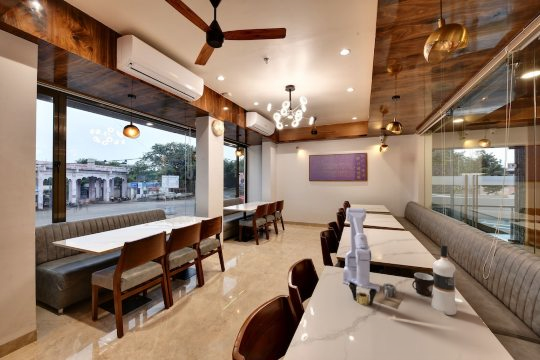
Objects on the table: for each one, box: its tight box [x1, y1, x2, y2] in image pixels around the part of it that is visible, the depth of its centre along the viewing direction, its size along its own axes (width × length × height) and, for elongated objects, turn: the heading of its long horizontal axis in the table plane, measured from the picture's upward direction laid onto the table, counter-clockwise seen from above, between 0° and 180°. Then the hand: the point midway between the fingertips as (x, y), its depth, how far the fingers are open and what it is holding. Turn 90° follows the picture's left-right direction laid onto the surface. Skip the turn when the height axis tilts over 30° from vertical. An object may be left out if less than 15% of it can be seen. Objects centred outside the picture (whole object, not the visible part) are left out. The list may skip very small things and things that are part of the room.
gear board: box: [373, 286, 406, 310], centre depth 115 cm, size 12×18×6 cm, turn 140°
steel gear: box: [382, 283, 397, 297], centre depth 118 cm, size 6×6×4 cm
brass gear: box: [356, 291, 370, 306], centre depth 111 cm, size 6×6×4 cm
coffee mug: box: [411, 272, 433, 298], centre depth 119 cm, size 12×9×10 cm
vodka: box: [430, 244, 458, 316], centre depth 106 cm, size 9×9×30 cm
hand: (362, 301), depth 111 cm, fingers open, 7 cm apart
